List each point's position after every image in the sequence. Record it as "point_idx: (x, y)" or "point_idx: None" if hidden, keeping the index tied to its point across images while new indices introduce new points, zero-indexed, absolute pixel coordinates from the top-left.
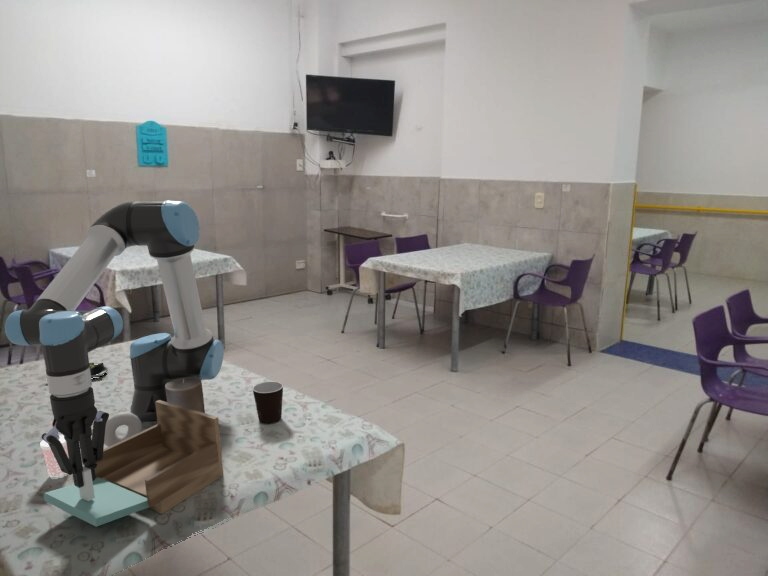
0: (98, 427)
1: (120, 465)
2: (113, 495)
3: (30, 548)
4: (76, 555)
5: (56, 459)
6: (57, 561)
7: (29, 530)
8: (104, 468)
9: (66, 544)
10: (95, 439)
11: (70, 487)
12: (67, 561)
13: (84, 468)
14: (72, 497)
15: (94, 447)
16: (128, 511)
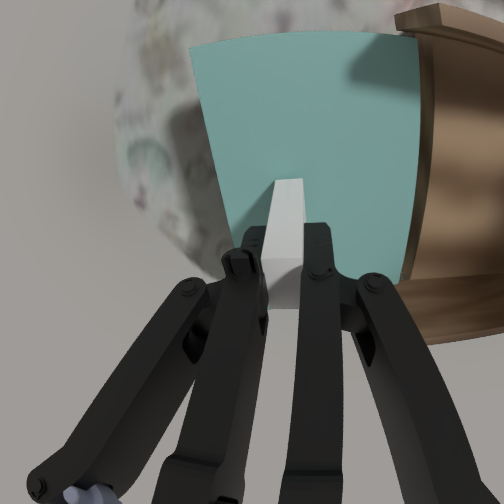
0: (407, 493)
1: (494, 50)
2: (364, 213)
3: (151, 142)
4: (216, 241)
5: (131, 353)
6: (183, 229)
7: (167, 61)
8: (454, 37)
9: (214, 192)
10: (389, 411)
11: (295, 51)
12: (198, 243)
13: (292, 284)
14: (258, 151)
15: (373, 361)
16: None
